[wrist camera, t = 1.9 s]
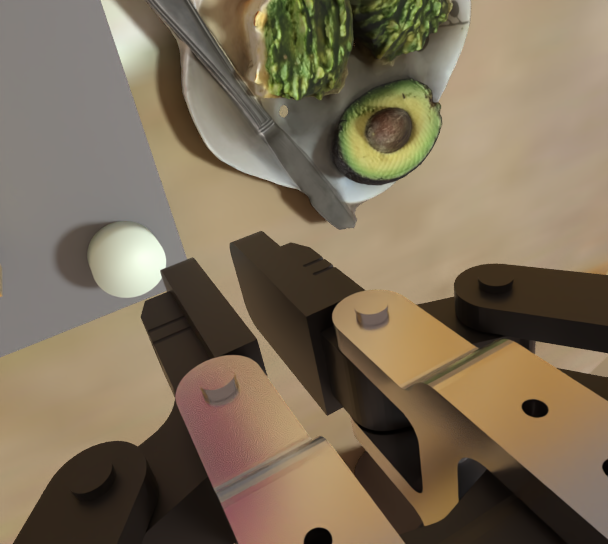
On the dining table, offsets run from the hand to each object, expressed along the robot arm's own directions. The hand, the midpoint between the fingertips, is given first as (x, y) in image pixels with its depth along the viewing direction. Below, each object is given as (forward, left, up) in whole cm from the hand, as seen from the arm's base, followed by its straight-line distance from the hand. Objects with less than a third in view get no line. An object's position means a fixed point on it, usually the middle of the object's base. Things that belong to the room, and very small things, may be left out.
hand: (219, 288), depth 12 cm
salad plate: (-14, 0, -20) cm, 24 cm away
